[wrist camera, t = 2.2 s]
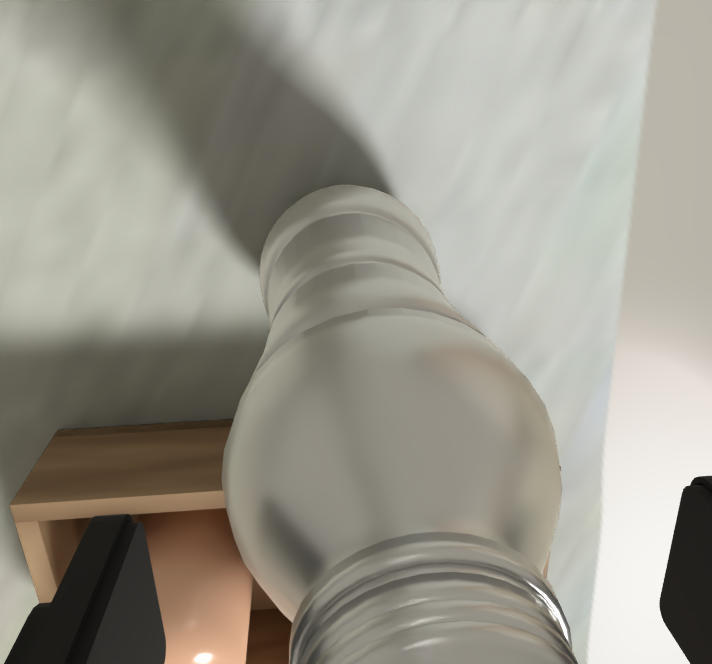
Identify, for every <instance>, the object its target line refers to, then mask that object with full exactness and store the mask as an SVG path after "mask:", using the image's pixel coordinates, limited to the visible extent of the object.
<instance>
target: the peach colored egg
mask: <svg viewBox="0 0 712 664" xmlns="http://www.w3.org/2000/svg"><path fill="white" fill-rule="evenodd" d="M136 522H142V523H143V525H144V529H145V534H146V539H147V544H148V549H149V555H150V560H151V565H152V570H153V575H154V580H155V586H156V591H157V596H158V601H159V606H160V612H161V617H162V622H163V627H164V632H165V638H166V657H165V663H164V664H245V663H246V652H247V641H248V630H249V619H250V608H251V598H252V587H253V575H252V574H251V572H250V571H249V569H248V568H247V566H246V565H245V564H244V561H243V559H242V557H241V554H240V552H239V549H238V547H237V544H236V542H235V539H234V536H233V532H232V529H231V525H230V521H229V518H228V514H227V510H226V508H218V509H203V510H189V511H175V512H161V513H147V514H139V516H138V518H137V521H136Z"/></svg>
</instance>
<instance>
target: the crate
mask: <svg viewBox="0 0 712 664" xmlns="http://www.w3.org/2000/svg"><path fill="white" fill-rule="evenodd" d="M233 420H234V419H226V420H210V421H194V422H178V423H162V424H146V425H130V426H114V427H98V428H81V429H65V430H57V432H56V433H55V435H54V436H53V438H52V440H51V441H50V443H49V444H48V446H47V447H46V449H45V451H44V452H43V454H42V455H41V457H40V458H39V460H38V462H37V463H36V465H35V466H34V468H33V469H32V471H31V472H30V474H29V476H28V477H27V479H26V480H25V482H24V483H23V485H22V487H21V488H20V490H19V491H18V493H17V494H16V496H15V498H14V499H13V501H12V502H11V504H10V509H11V512H12V515H13V518H14V522H15V525H16V528H17V531H18V535H19V538H20V541H21V544H22V548H23V551H24V554H25V557H26V561H27V564H28V567H29V571H30V574H31V577H32V580H33V584H34V587H35V590H36V593H37V597H38V600H39V603H49V602H52V600H53V597H54V595H55V593H56V591H57V589H58V587H59V585H60V583H61V581H62V579H63V577H64V574H65V572H66V570H67V568H68V566H69V564H70V562H71V560H72V558H73V556H74V554H75V551H76V549H77V547H78V545H79V543H80V541H81V539H82V537H83V535H84V533H85V531H86V529H87V526H88V524H89V522H90V521H91V519H92V518H93V517H94V516H101V515H117V514H130V515H131V517H132V520H133V522H136V521H137V518H138V516H139V514H147V513H161V512H175V511H189V510H203V509H218V508H226V506H225V499H224V492H223V486H222V467H223V455H224V448H225V445H226V442H227V439H228V436H229V433H230V430H231V427H232V423H233ZM559 467H560V465H559ZM560 470H561V467H560ZM549 555H550V552H549ZM549 555H548V558H547V561H546V564H545V567H544V569H543V572H542V574H543V575H544V577H545V578H546V579H547V571H548V563H549ZM291 628H292V622H291V621H290V620H289V619H288V618H287V617H286V616H285V615H284V614H283V613H282V612H281V611H280V610H279V608H278V607H277V606H276V605H275V604H274V602H273V601H272V600H271V599H270V597H269V596H268V595H267V594H266V592H265V591H264V590H263V589H262V588H261V586H260V585H259V584H258V582H257V581H256V579H255V578H254V576H253V587H252V598H251V608H250V619H249V630H248V641H247V652H246V663H245V664H289V642H290V635H291Z"/></svg>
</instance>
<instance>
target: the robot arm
mask: <svg viewBox="0 0 712 664" xmlns="http://www.w3.org/2000/svg"><path fill="white" fill-rule="evenodd" d="M660 611H661V615H662V618H663V621H664V623H665V624H666V626H667V628H668V629H669V631H670V632H671V634H672V635H673V637H674V639H675V640H676V642H677V643H678V645H679V646H680V648H681V650H682V651H683V653H684V654H685V656H686V657H687V659H688V660H689V662H690V664H712V476H702V477H696V478H694V480H693V481H692V482H691V485H690V486H686V487H685V488H684V489H683V492H682V497H681V501H680V506H679V511H678V515H677V521H676V525H675V530H674V535H673V539H672V544H671V549H670V554H669V559H668V564H667V569H666V573H665V578H664V583H663V588H662V592H661V597H660ZM165 657H166V638H165V632H164V627H163V622H162V617H161V612H160V606H159V601H158V596H157V591H156V586H155V580H154V575H153V570H152V565H151V560H150V555H149V549H148V544H147V539H146V534H145V529H144V525H143V523H142V522H133V520H132V517H131V515H130V514H117V515H101V516H94V517H93V518H92V519H91V521H90V522H89V524H88V526H87V529H86V531H85V533H84V535H83V537H82V539H81V541H80V543H79V545H78V547H77V549H76V551H75V554H74V556H73V558H72V560H71V562H70V564H69V566H68V568H67V570H66V572H65V574H64V577H63V579H62V581H61V583H60V585H59V587H58V589H57V591H56V593H55V595H54V597H53V600H52V602H49V603H39V604H38V605H37V606H35V607H34V608H33V610H32V611H31V613H30V614H29V616H28V618H27V620H26V622H25V624H24V626H23V628H22V630H21V632H20V634H19V635H18V637H17V639H16V641H15V643H14V645H13V647H12V649H11V651H10V653H9V655H8V657H7V659H6V661H5V663H4V664H164V663H165Z"/></svg>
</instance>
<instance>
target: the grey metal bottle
mask: <svg viewBox="0 0 712 664" xmlns="http://www.w3.org/2000/svg"><path fill="white" fill-rule="evenodd" d="M259 274H260V284H261V292H262V297H263V302H264V306H265V309H266V312H267V315H268V318H269V321H270V330H269V336H268V339H267V342H266V346H265V350H264V353H263V355H262V357H261V359H260V361H259V363H258V365H257V367H256V369H255V371H254V373H253V375H252V377H251V379H250V381H249V383H248V385H247V387H246V389H245V392H244V394H243V395H242V397H241V399H240V402H239V405H238V408H237V411H236V414H235V417H234V420H233V423H232V427H231V430H230V433H229V436H228V439H227V442H226V445H225V448H224V455H223V467H222V486H223V492H224V499H225V506H226V510H227V514H228V518H229V521H230V525H231V529H232V532H233V536H234V539H235V542H236V544H237V547H238V549H239V552H240V554H241V557H242V559H243V561H244V564H245V565H246V566H247V568H248V569H249V571H250V572H251V574H252V575H253V576H254V578H255V579H256V581H257V582H258V584H259V585H260V586H261V588H262V589H263V590H264V591H265V592H266V594H267V595H268V596H269V597H270V599H271V600H272V601H273V602H274V604H275V605H276V606H277V607H278V608H279V610H280V611H281V612H282V613H283V614H284V615H285V616H286V617H287V618H288V619H289V620H290V621H291V622H292V628H291V635H290V642H289V664H578V663H577V661H576V658H575V656H574V654H573V652H572V641H571V634H570V627H569V625H568V623H567V620H566V618H565V616H564V613H563V611H562V608H561V606H560V604H559V602H558V600H557V598H556V595H555V593H554V591H553V589H552V587H551V584H550V583H549V582H548V580H547V579H546V578H545V577H544V575H543V574H542V572H543V569H544V567H545V564H546V561H547V558H548V555H549V552H550V548H551V545H552V541H553V537H554V534H555V530H556V526H557V523H558V519H559V513H560V505H561V496H562V484H561V475H560V467H559V459H558V453H557V446H556V439H555V433H554V429H553V426H552V423H551V421H550V418H549V415H548V413H547V410H546V407H545V404H544V403H543V401H542V400H541V398H540V397H539V395H538V394H537V392H536V391H535V389H534V388H533V386H532V385H531V383H530V381H529V380H528V379H527V378H526V376H525V375H524V374H523V373H522V372H521V371H520V370H519V369H518V368H517V366H516V365H515V364H514V363H513V362H512V360H511V359H510V358H509V357H508V356H507V355H505V354H504V353H503V352H502V351H501V350H500V349H499V348H498V347H497V346H496V345H495V344H494V343H493V342H492V341H491V340H490V339H488V338H486V337H485V336H484V335H483V334H482V333H481V332H480V331H479V330H477V329H476V328H475V327H474V326H473V325H472V324H470V323H469V322H468V321H467V320H466V319H465V318H463V317H462V316H461V315H460V314H459V313H458V312H457V311H456V310H455V308H454V307H453V306H452V304H451V303H450V302H449V300H448V299H447V298H446V297H445V296H444V293H443V291H442V288H441V285H440V284H441V277H440V272H439V267H438V261H437V257H436V253H435V248H434V246H433V244H432V241H431V239H430V236H429V234H428V232H427V230H426V229H425V227H424V226H423V224H422V223H421V221H420V220H419V218H418V217H417V216H416V215H415V214H414V213H413V212H412V211H411V210H410V209H409V208H408V207H407V206H406V205H404V204H403V203H401V202H400V201H398V200H397V199H395V198H394V197H392V196H391V195H389V194H386V193H383V192H381V191H378V190H376V189H373V188H369V187H363V186H358V185H333V186H329V187H325V188H321V189H318V190H316V191H314V192H312V193H310V194H308V195H306V196H304V197H302V198H301V199H300V200H298V201H297V202H296V203H294V204H293V205H292V206H291V207H289V208H288V209H287V210H286V211H285V212H284V213H283V214H282V216H281V217H280V218H279V219H278V220H277V221H276V222H275V224H274V226H273V228H272V229H271V231H270V233H269V235H268V237H267V238H266V241H265V245H264V248H263V251H262V254H261V261H260V272H259Z"/></svg>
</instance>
